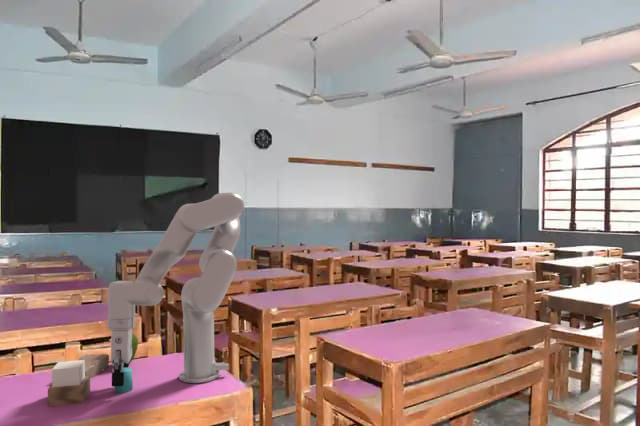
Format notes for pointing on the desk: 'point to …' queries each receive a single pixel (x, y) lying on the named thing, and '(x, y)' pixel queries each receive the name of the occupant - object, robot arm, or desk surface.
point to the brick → (95, 363)
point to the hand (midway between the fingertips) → (120, 380)
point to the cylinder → (126, 382)
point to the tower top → (68, 373)
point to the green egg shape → (134, 346)
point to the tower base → (69, 393)
